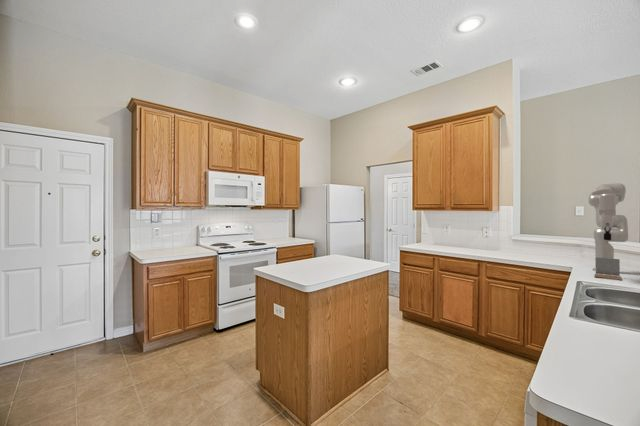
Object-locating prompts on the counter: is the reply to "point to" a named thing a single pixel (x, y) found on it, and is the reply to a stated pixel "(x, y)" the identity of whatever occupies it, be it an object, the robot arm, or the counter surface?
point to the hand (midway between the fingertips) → (607, 239)
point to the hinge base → (608, 277)
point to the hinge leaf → (608, 266)
